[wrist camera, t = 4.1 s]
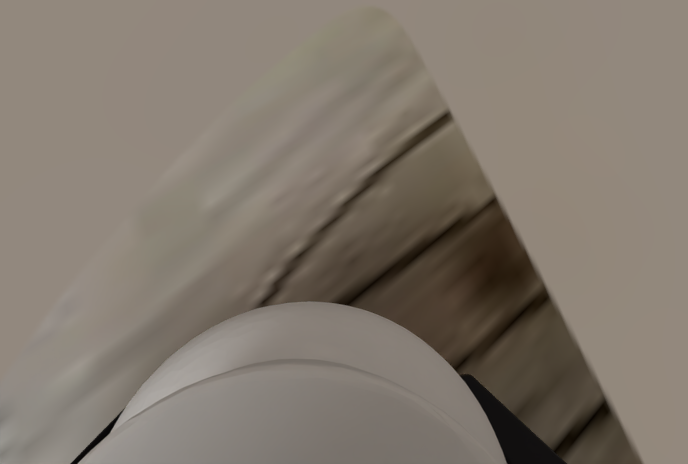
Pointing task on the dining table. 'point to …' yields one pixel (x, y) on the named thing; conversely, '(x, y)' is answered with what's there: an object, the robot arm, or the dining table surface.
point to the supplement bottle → (302, 397)
